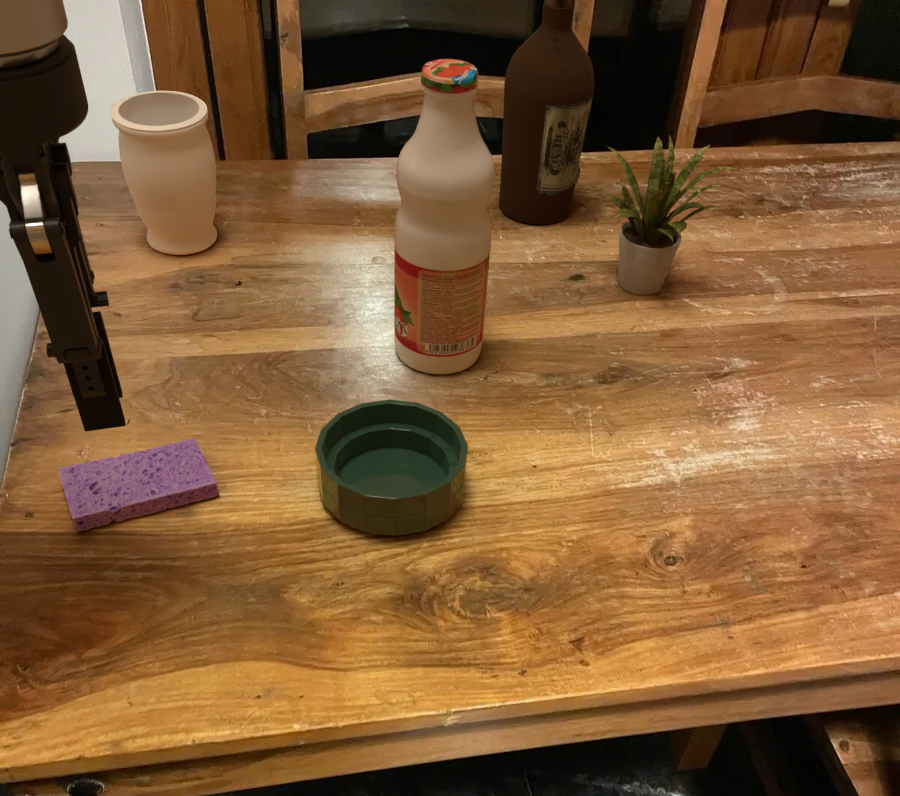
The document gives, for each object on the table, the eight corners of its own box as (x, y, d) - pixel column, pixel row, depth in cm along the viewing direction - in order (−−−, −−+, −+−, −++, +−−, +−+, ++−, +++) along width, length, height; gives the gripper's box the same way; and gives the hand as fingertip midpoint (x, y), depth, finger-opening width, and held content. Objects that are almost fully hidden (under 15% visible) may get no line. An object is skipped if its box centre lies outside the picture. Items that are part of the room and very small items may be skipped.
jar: (134, 222, 115) (105, 93, 104) (218, 213, 117) (199, 85, 106) (143, 266, 108) (114, 133, 97) (233, 255, 111) (214, 124, 100)
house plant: (732, 307, 108) (776, 166, 96) (631, 331, 104) (662, 187, 92) (665, 248, 117) (698, 111, 104) (569, 267, 113) (591, 127, 100)
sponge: (62, 483, 84) (57, 467, 83) (200, 450, 88) (197, 434, 87) (76, 534, 80) (70, 518, 79) (220, 497, 84) (217, 481, 83)
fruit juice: (456, 387, 96) (474, 100, 75) (377, 359, 99) (373, 74, 77) (496, 342, 102) (523, 63, 81) (420, 316, 104) (427, 39, 83)
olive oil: (478, 201, 123) (493, -19, 104) (539, 181, 127) (565, -32, 108) (529, 236, 117) (555, 11, 98) (591, 214, 122) (628, -5, 103)
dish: (336, 551, 80) (333, 509, 76) (307, 453, 88) (303, 411, 85) (481, 526, 83) (486, 484, 79) (441, 433, 91) (443, 391, 87)
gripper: (77, 97, 44) (168, 475, 61) (68, -13, 53) (150, 341, 71) (-97, 108, 42) (49, 493, 60) (-74, -8, 52) (46, 354, 69)
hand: (103, 410), depth 65 cm, fingers open, 3 cm apart
